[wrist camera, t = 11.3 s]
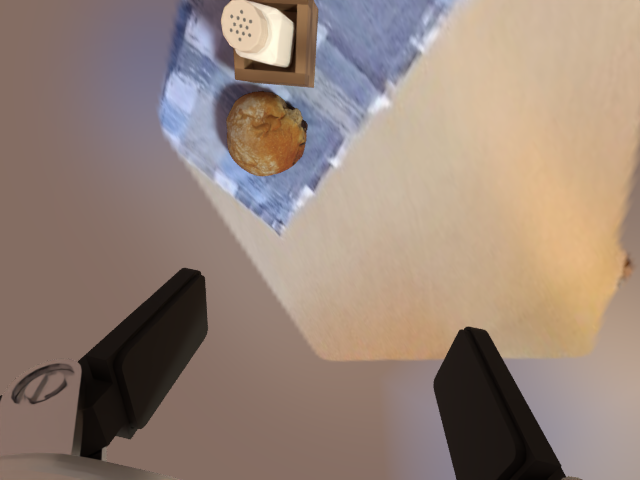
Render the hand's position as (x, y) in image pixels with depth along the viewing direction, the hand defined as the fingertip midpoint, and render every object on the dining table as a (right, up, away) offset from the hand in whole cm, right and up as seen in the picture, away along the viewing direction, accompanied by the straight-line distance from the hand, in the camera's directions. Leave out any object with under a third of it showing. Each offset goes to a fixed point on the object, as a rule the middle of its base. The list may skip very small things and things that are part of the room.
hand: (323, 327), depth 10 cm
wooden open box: (-4, +25, +22) cm, 34 cm away
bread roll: (-7, +17, +26) cm, 32 cm away
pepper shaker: (-5, +24, +19) cm, 31 cm away
